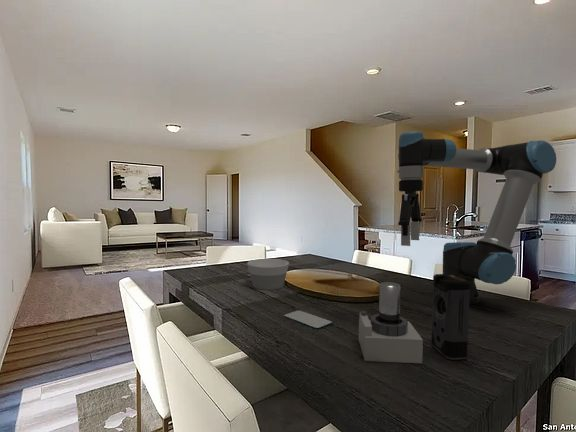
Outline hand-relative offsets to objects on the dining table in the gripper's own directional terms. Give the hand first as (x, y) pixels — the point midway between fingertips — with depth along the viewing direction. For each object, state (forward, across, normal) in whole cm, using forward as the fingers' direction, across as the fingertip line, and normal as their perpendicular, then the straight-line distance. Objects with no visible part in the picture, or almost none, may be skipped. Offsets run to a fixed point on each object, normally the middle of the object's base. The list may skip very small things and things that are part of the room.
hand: (410, 242), depth 112 cm
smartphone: (+25, +22, -28) cm, 44 cm away
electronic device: (+26, +21, +14) cm, 36 cm away
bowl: (+25, -5, -64) cm, 69 cm away
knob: (+19, +29, +1) cm, 35 cm away
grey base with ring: (+25, +29, +1) cm, 39 cm away
